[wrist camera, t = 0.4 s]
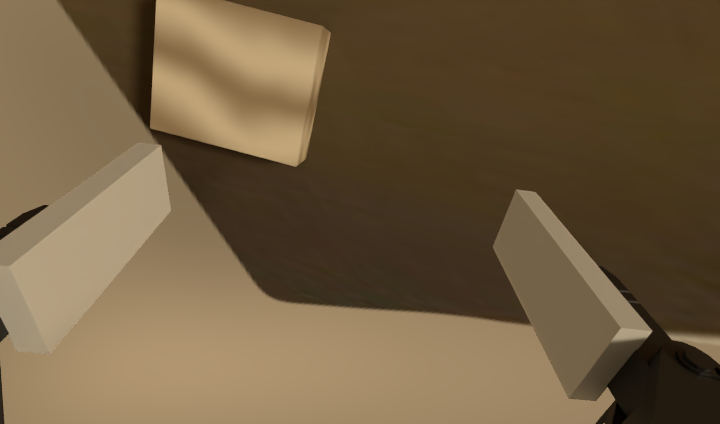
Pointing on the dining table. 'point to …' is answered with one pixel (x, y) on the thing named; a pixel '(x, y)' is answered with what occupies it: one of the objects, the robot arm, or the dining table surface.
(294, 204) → the dining table surface
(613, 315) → the robot arm
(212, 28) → the stand
